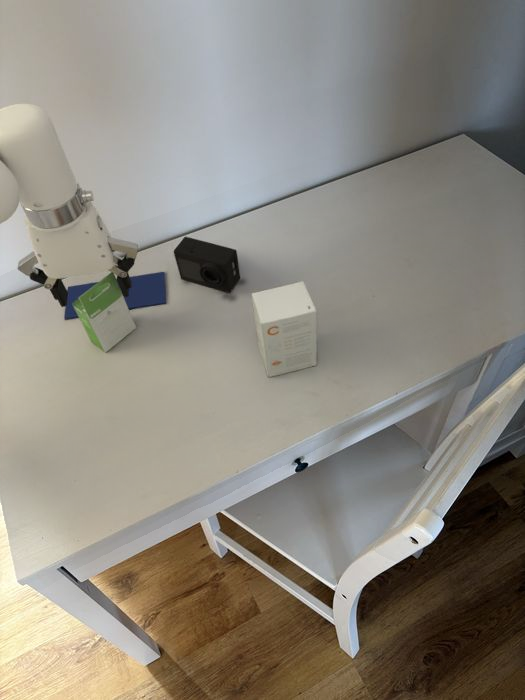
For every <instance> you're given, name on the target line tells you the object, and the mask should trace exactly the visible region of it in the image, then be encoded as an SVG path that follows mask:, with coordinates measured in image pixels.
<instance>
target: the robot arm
mask: <svg viewBox="0 0 525 700" xmlns="http://www.w3.org/2000/svg"><path fill="white" fill-rule="evenodd" d="M71 167H72V166H71V165H70V162H69V160H68V157H67V155H66V153H65V150H64V148H63V145H62V143H61V140H60V138H59V135H58V133H57V130H56V128H55V126H54V123H53V121H52V119H51V117H50V115H49V114H48V112H47V111H46V110H45V109H44V108H42V107H41V106H39V105H36V104H34V103H33V104H32V103H14V104H11V105H7V106H4V107H2V108H0V225H1V224H2V223H4V222H7V221H8V220H9V219H10V218H12V216H13V215H14V214H15V213H16V211H17V210H18V207H19V204H20V206H21V208H22V210H23V213H24V214H25V216H24V222H25V223H24V224H25V228H26V231H27V235H28V239H29V241H30V244H31V247H32V250H33V251H31V252H30V253H29V254H27V255H25V256H24V257H23V258H22V259H20V260H19V261H18V263H17V270H18V271H19V272H21V273H22V274H23V275H25V276H27V277H28V278H29V279H30V280H31V281H33V282H36V283H38V284H41V285H43V288H44V289H46V290H49V291H50V293H51V295H52V296H53V298H54V300H56V301H58V303H59V305H60V306H61V308H65V307H66V305H67V298H68V292H67V288H66V285H65V284H64V282H63V280H62V279H67V278H72V277H73V278H74V277H81V276H86V275H87V276H88V275H92V274H99V273H104V272H107V271H108V272H109V273H111V272H112V273H114V275H116V279H117V281H118V284H119V286H120V289H121V291H122V294H123V296H125V297H128V296H129V288H132V283H131V279H130V277H131V276H130V273H129V271H130V270H131V269H132V268H133V266H134V265H135V261H136V260H137V259H136V258H137V255H138V252H139V245H138V244H137V242H133V241H128V240H123V239H119V238H114V237H112V235H111V233H110V232H109V229H108V227H107V225H106V224H105V222H104V219H103V217H102V216H101V214H100V212H99V211H98V210H97V207H96V206H95V205H94V203H93V202H94V201H95V196H94V193H93V191H92V190H86V189H84V190H83V188H82V187H81V185H80V183H79V182H77V179H76V177H75V174H74V173H73V170H72V168H71ZM116 252H119V253H124V254H125V255H124V256H123V257H121V256H119V255H118V254H115V253H116ZM38 263H39V266H40V268H39V267H35V265H37V264H38Z"/></svg>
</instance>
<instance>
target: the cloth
mask: <svg viewBox="0 0 525 700" xmlns="http://www.w3.org/2000/svg"><path fill="white" fill-rule="evenodd" d="M165 275H166V274H165V271H158V272H152V273H145V274H141V275H133V276H130V279H131V283H132V288H129V296H128V297H125V296H123V297H124V299H125V302H126V304H127V307H128V309H129V311H130V310H134V309H135V310H136V309H141V308H147V307H154V306H161V305H166V304H167V296H166V276H165ZM116 280H117V278H116ZM98 282H99V281H95V282H89V283H83V284H77V285H70V286H67V288H66V290H67V292H68V298H67V305H66V306H65V307H64V316H63V317H64V318H63V319H64V320H65V321H67V320H74V319H80V318H79V316H78V314H77V313H76V311H75V308H74V307H73V304H72V303H73V302H75V301H76V300H77V299H79V297H80V296H81V295H82V294H84V293H85V292H86V291H88V290H89V289H90V288H92V287H93V286H94V285H95V284H97V283H98ZM117 282H118V281H117ZM118 285H119V284H118ZM119 288H120V286H119ZM120 290H121V289H120ZM121 292H122V291H121ZM122 295H123V294H122Z"/></svg>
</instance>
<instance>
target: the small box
mask: <svg viewBox="0 0 525 700" xmlns="http://www.w3.org/2000/svg"><path fill="white" fill-rule="evenodd" d="M251 302H252V308H253V315H254V323H255V331H256V337H257V344H258V350H259V352H260V355H261V359H262V363H263V365H264V368H265V371H266V372H265V373H266V374H267V375H266V376H267V377H268V378H272V377H277V376H279V375H285V374H288V373H291V372H297V371H300V370H304V369H307V368H311V367H316V366H317V355H318V354H317V349H318V348H317V308H316V307H315V304H314V302H313V301H312V298H311V296H310V293H309V291H308V289H307V286H306V284H305V282H304V281H303V280H302V281H298V282H294V283H290V284H285V285H281V286H277V287H273V288H269V289H265V290H261V291H255V292H252V293H251Z"/></svg>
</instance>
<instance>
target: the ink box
mask: <svg viewBox="0 0 525 700" xmlns="http://www.w3.org/2000/svg"><path fill="white" fill-rule="evenodd" d="M115 275H116V274H114V273H112V272H109V273H108V274H107V275H106V276H104V277H103V278H102V279H100V280H99V281H97V282H98V283H97V284H95V285H94V286H93V287H92V288H90V289H89V290H88V291H86V292H85V293H84V294H82V295H81V296H80V297H79V299H77V300H76V301H75V302H73V303H72V304H73V307H74V308H75V311H76V313H77V314H78V316H79V318H78V319H79V320H80V322H81V324H82V327H83V328H84V331H85V333H86V335H87V336H88V338H89V340H90V342H91V343H92V344H93V345H94V346H96V347H98V349H100V350H101V351H102V352H104V353H107V352H108V351H110V350H111V349H112V348H113V347H115V346H116V345H117V344H118V343H120V342H121V341H122V340H123V339H125V337H127V336H128V335H129V334H131V333H132V332H133V331H135V329H137V326H136V324H135V321H134V318H133V316H132V314H131V312H130V310H129V309H128V307H127V304H126V302H125V299H124V297H123V295H122V292H121V290H120V288H119V285H118V282H117V280H116V279H117V277H116V276H115Z"/></svg>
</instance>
